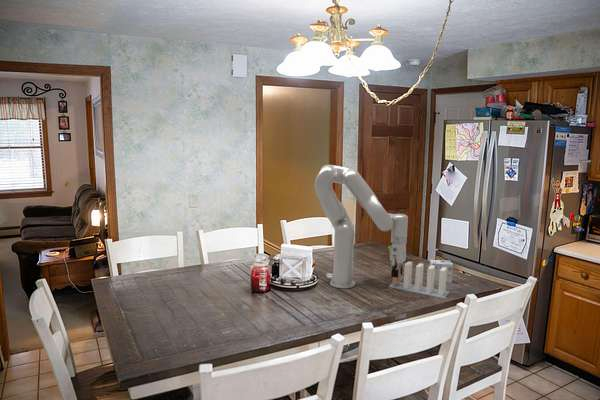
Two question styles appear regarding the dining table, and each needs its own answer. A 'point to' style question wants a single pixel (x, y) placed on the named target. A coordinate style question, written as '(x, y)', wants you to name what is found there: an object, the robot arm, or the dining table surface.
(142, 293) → the dining table surface
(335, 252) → the robot arm
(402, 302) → the dining table surface
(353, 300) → the dining table surface
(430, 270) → the domino
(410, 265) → the domino
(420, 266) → the domino
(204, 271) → the dining table surface
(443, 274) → the domino
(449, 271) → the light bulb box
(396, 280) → the domino
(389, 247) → the plant pot
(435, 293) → the board
